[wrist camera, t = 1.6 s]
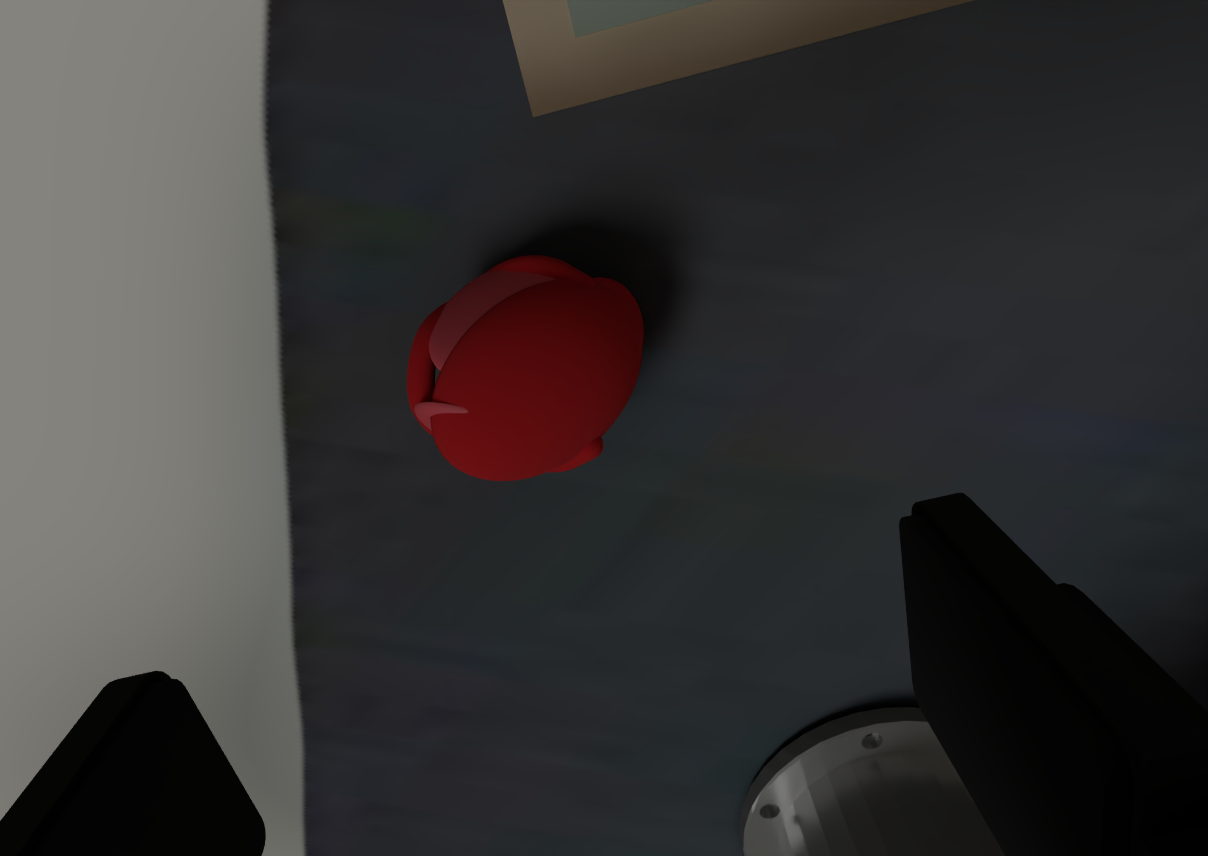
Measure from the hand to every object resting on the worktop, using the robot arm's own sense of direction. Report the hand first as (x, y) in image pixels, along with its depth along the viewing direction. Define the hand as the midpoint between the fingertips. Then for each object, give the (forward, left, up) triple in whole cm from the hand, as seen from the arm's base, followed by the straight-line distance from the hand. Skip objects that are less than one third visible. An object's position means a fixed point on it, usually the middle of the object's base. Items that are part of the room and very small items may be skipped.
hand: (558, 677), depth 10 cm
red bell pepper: (-1, +1, -18) cm, 18 cm away
